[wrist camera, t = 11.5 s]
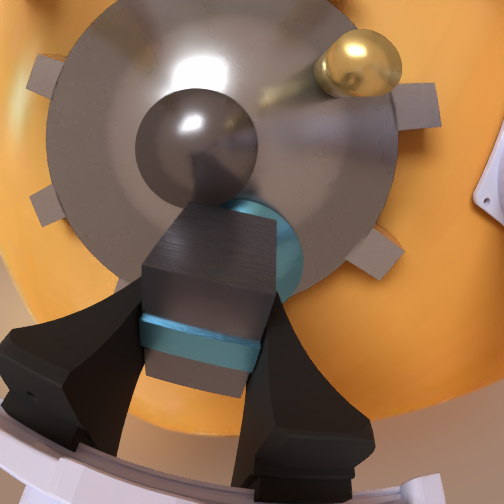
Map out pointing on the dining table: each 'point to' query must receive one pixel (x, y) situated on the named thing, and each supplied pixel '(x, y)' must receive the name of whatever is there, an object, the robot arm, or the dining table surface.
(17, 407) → the robot arm
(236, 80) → the sprocket disc
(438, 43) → the dining table surface
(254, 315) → the marked link block
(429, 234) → the dining table surface
